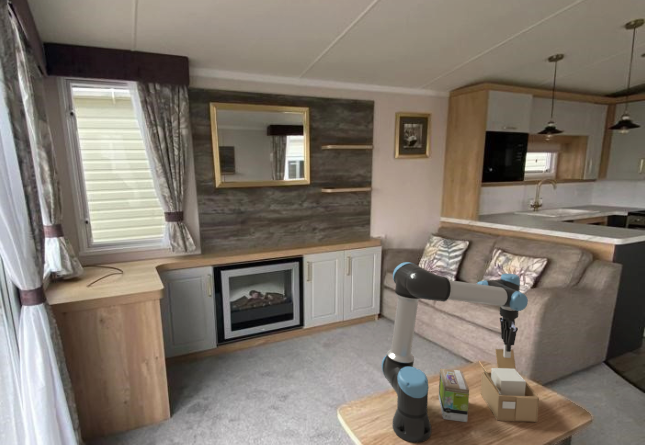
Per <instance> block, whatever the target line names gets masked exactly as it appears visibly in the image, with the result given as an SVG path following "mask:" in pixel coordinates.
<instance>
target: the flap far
mask: <svg viewBox="0 0 645 445" xmlns="http://www.w3.org/2000/svg"><path fill="white" fill-rule="evenodd" d="M503 351H504V348H495V358H496V366H497V367H496V368H510V369H515V370H516V371H517V368H516V361H515V360H516V359H515V353H514V349H512V348H511V358H504V356H503Z"/></svg>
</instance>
